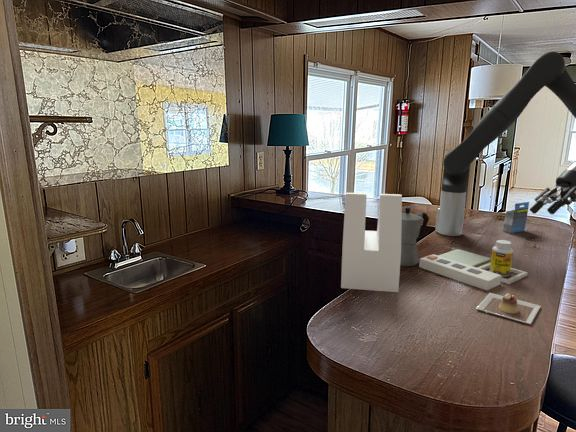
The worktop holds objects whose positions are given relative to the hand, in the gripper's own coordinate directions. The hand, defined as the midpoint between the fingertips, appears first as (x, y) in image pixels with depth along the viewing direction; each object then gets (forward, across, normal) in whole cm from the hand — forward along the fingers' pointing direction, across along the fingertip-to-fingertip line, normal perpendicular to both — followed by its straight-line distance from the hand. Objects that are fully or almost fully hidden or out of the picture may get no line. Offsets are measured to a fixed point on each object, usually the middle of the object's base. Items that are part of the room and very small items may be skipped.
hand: (540, 212), depth 132 cm
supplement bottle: (+26, +7, +1) cm, 27 cm away
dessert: (+37, +29, -2) cm, 47 cm away
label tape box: (-4, -37, +16) cm, 40 cm away
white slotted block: (+54, +7, -26) cm, 61 cm away
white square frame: (+25, +7, +1) cm, 26 cm away
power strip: (+34, +7, -7) cm, 35 cm away
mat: (+27, -6, -4) cm, 28 cm away
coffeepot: (+41, -5, -17) cm, 45 cm away
